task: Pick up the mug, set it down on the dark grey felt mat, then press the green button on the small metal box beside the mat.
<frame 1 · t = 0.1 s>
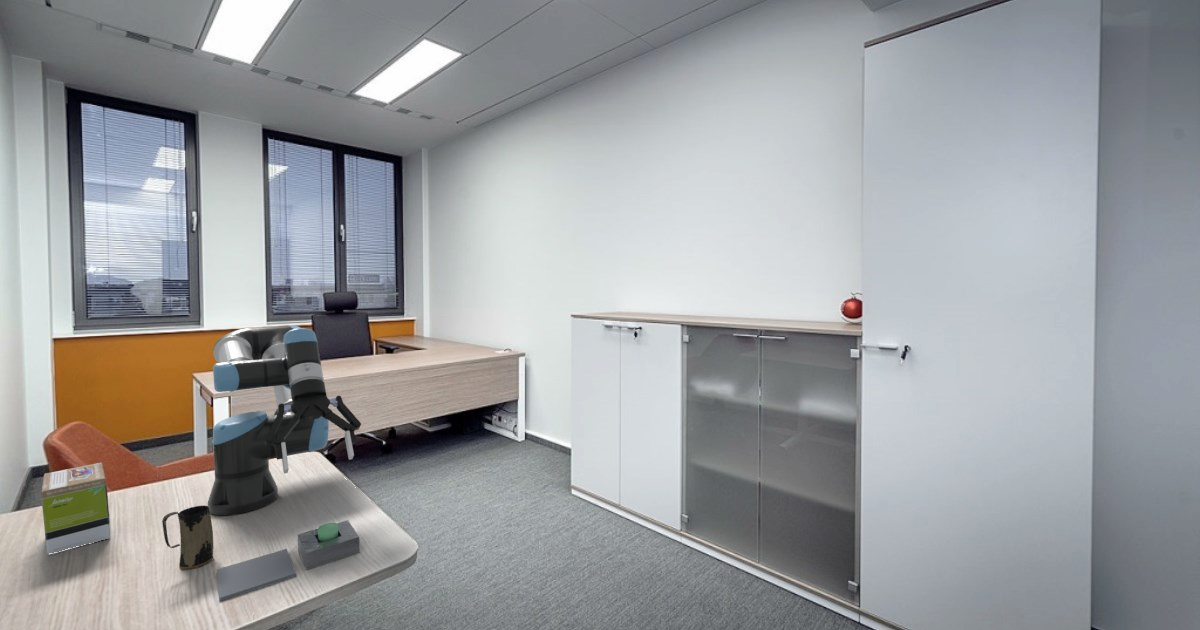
hand: (320, 464, 116), 15 cm above the table, tool tilted 35°, fingers open, 13 cm apart
mug: (190, 565, 102), on the table
button: (328, 533, 106), point 4 cm above the table, slide at 0.0 cm
button box: (328, 551, 106), on the table
tea box: (79, 537, 114), on the table
mat: (255, 574, 98), on the table
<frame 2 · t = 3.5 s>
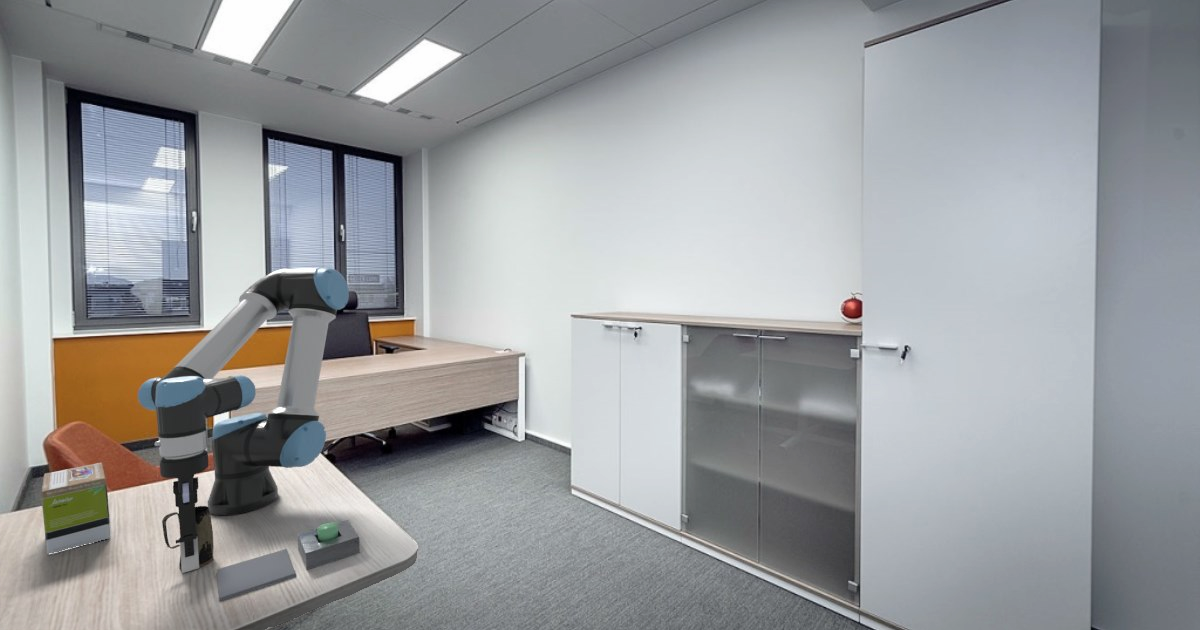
hand: (190, 563, 102), 0 cm above the table, tool pointing down, fingers closed on mug, 5 cm apart
mug: (190, 566, 101), on the table, touching gripper
everything else where it was.
when the fingers open (3 cm above the table, at t = 8.2 s): mug drops 2 cm, resting on mat.
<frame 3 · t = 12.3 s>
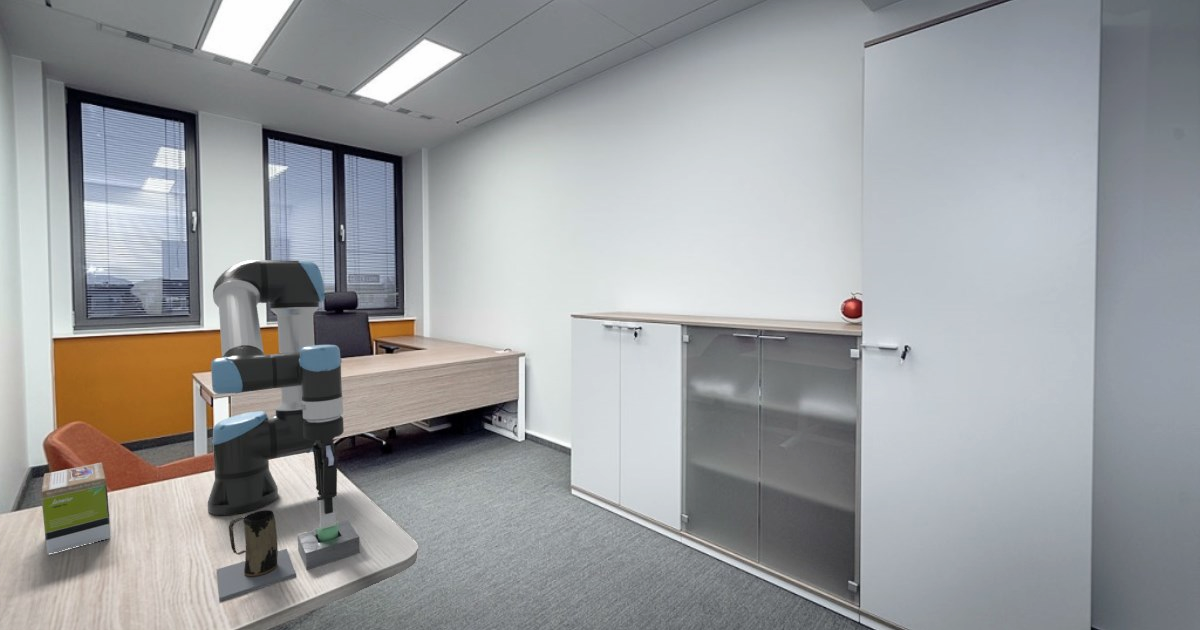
hand: (328, 525, 106), 6 cm above the table, tool pointing down, fingers closed
mug: (255, 572, 98), resting on mat
button: (328, 533, 106), point 4 cm above the table, slide at 0.0 cm, touching gripper
everything else where it was.
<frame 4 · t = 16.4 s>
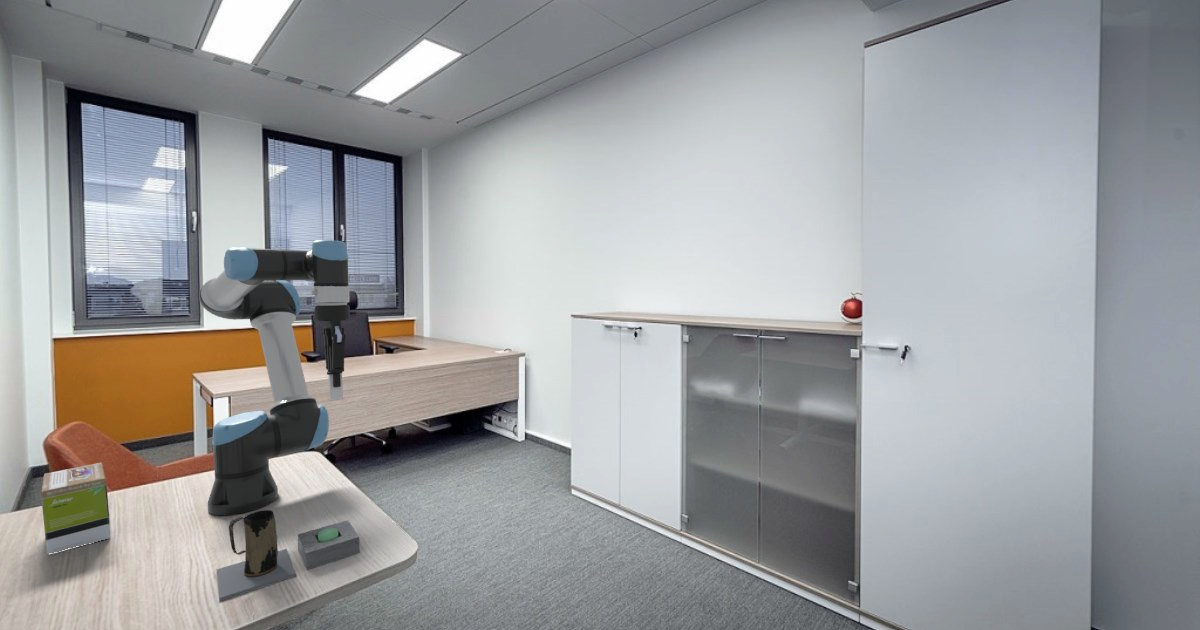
hand: (336, 399, 122), 29 cm above the table, tool pointing down, fingers closed
button: (328, 539, 106), point 3 cm above the table, slide at 1.3 cm
everything else where it was.
at the end: mug inside the target area on the mat (0.3 cm from its centre), point 0.4 cm above the mat's base; mug tilted 0°; button slide at 1.3 cm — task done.
